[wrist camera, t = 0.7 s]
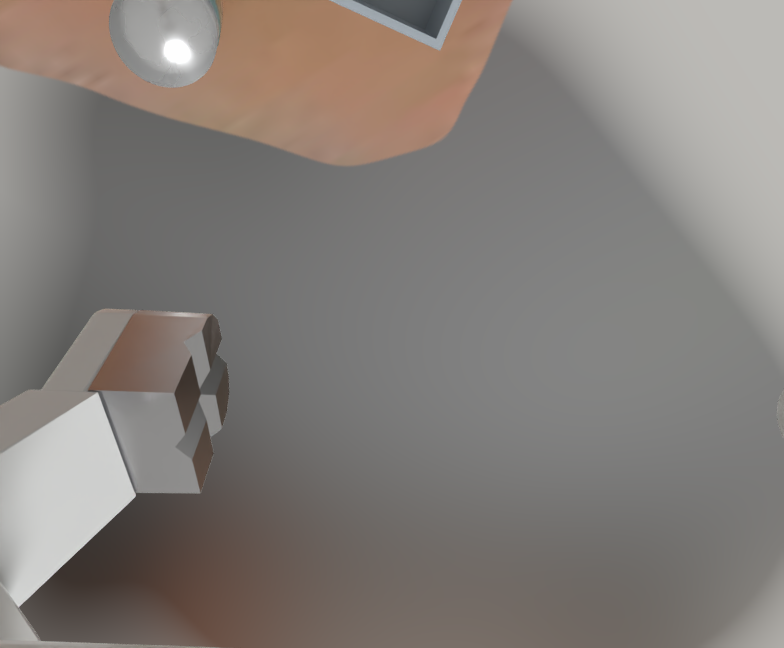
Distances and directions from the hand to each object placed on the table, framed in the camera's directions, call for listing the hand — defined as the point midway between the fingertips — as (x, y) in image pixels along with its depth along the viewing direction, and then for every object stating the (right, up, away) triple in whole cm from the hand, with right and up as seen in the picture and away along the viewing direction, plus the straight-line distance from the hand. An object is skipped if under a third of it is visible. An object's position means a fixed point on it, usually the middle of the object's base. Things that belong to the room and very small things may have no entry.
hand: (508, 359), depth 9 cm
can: (-17, +23, +35) cm, 45 cm away
